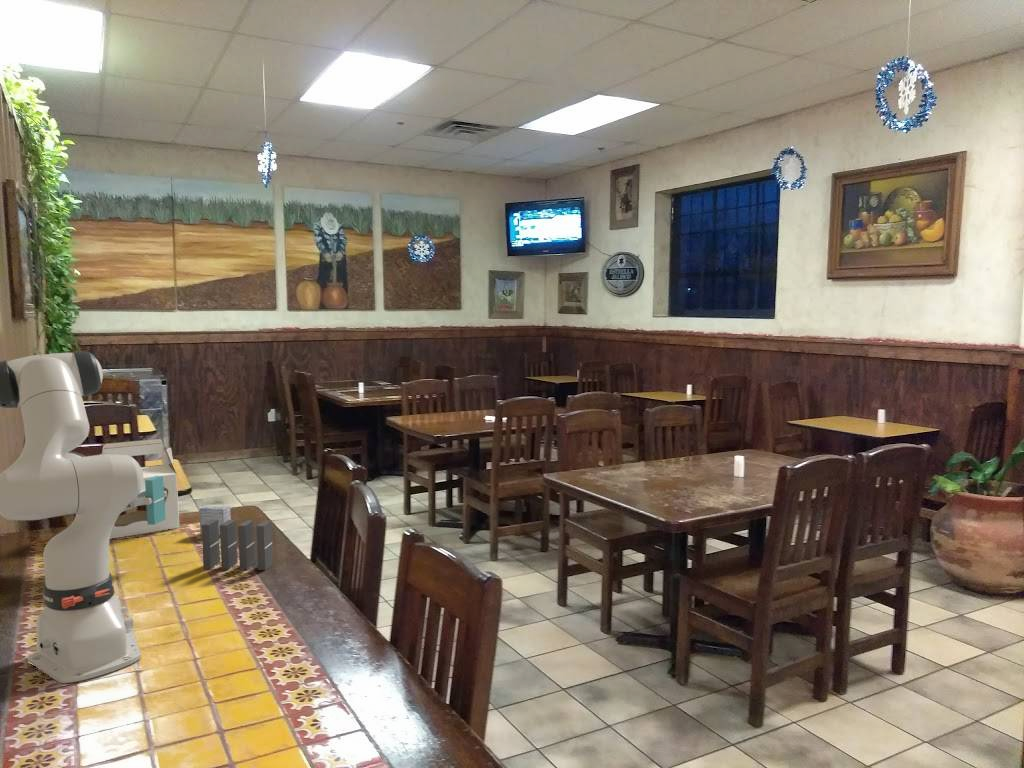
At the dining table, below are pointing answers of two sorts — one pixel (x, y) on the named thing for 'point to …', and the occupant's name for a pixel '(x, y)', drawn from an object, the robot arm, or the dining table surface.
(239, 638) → the dining table surface
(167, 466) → the gable box
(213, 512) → the medicine box
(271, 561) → the black domino
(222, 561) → the black domino
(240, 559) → the black domino
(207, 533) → the black domino
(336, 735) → the dining table surface
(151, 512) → the teal domino
